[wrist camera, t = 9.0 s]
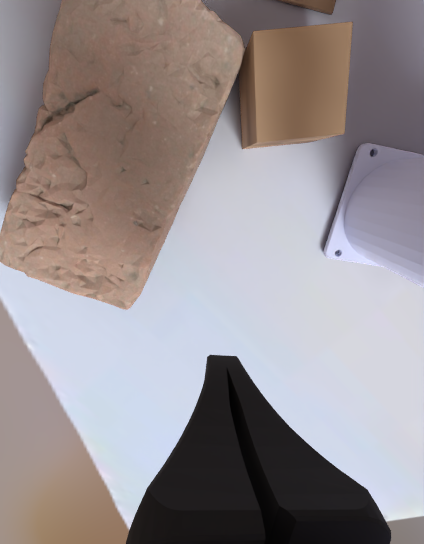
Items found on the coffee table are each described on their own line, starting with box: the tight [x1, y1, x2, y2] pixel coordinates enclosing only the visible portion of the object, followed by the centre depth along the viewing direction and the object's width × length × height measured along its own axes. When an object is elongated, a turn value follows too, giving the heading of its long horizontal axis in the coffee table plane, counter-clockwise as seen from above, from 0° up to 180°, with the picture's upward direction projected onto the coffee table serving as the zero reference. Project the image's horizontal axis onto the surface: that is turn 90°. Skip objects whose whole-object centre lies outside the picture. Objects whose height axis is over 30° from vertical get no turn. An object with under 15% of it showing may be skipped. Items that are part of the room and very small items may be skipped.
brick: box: [0, 0, 245, 309], centre depth 16 cm, size 17×8×5 cm, turn 153°
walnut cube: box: [239, 22, 353, 149], centre depth 15 cm, size 4×4×4 cm
